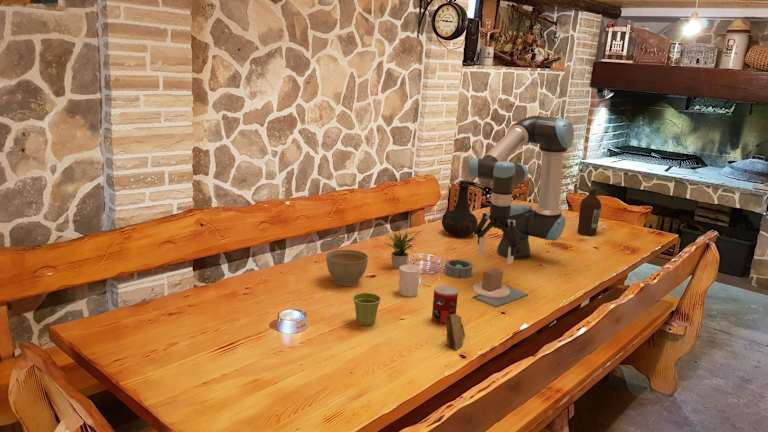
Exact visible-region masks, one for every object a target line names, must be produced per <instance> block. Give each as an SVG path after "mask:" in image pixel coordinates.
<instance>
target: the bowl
mask: <svg viewBox="0 0 768 432" xmlns="http://www.w3.org/2000/svg"><path fill="white" fill-rule="evenodd" d="M456 265H461V266H462V267H461V268H460V267H455V266H456ZM473 267H474V264H473V263H472V262H470V261H468V260H465V259H464V260H463V259H449V260H446V261H445V263H444V274H445V275H446V276H449V277H451V278H454V279H455V278H456V279H467V278H470V277H472V276H473V270H474V268H473Z"/></svg>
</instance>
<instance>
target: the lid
mask: <svg viewBox="0 0 768 432" xmlns="http://www.w3.org/2000/svg"><path fill="white" fill-rule="evenodd" d="M503 273H504V270H501V269H499V268H495V267H493V268H491V269H488V270H484V271H483V273H482V281H480V282H476V283H473V286H472V290H473V292H474V293H476V294H477V295H480V296H483V297H487V298H505V297H507V296H509V294H510V289H509V288H508V287H509V286H508V287H506V286H507V285H505V284H503V275H504V274H503Z"/></svg>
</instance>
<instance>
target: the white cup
mask: <svg viewBox="0 0 768 432" xmlns="http://www.w3.org/2000/svg"><path fill="white" fill-rule="evenodd" d="M398 269H399V271H398V272H399V273H398V287H399V288H398V292H399V294H400V295H401V296H404V297H409V298H411V297H415V296H417V295H418V290H419V285H420V276H421V270H422V268H421V267H420V266H418V265H414V264H406V265H402V266H400V267H399V268H398Z"/></svg>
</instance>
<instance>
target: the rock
mask: <svg viewBox="0 0 768 432" xmlns="http://www.w3.org/2000/svg"><path fill="white" fill-rule="evenodd" d="M445 328H446V346H448V347H449V348H450V349H452V350H454V351H456V352H458V350H460V348H461V347H463V345H464V338H465V337H466V333H465V331H464V330H465V329H464V325H463V323H462V316H460V315H458V314H457V313H456V314H451V315H446V324H445Z"/></svg>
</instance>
